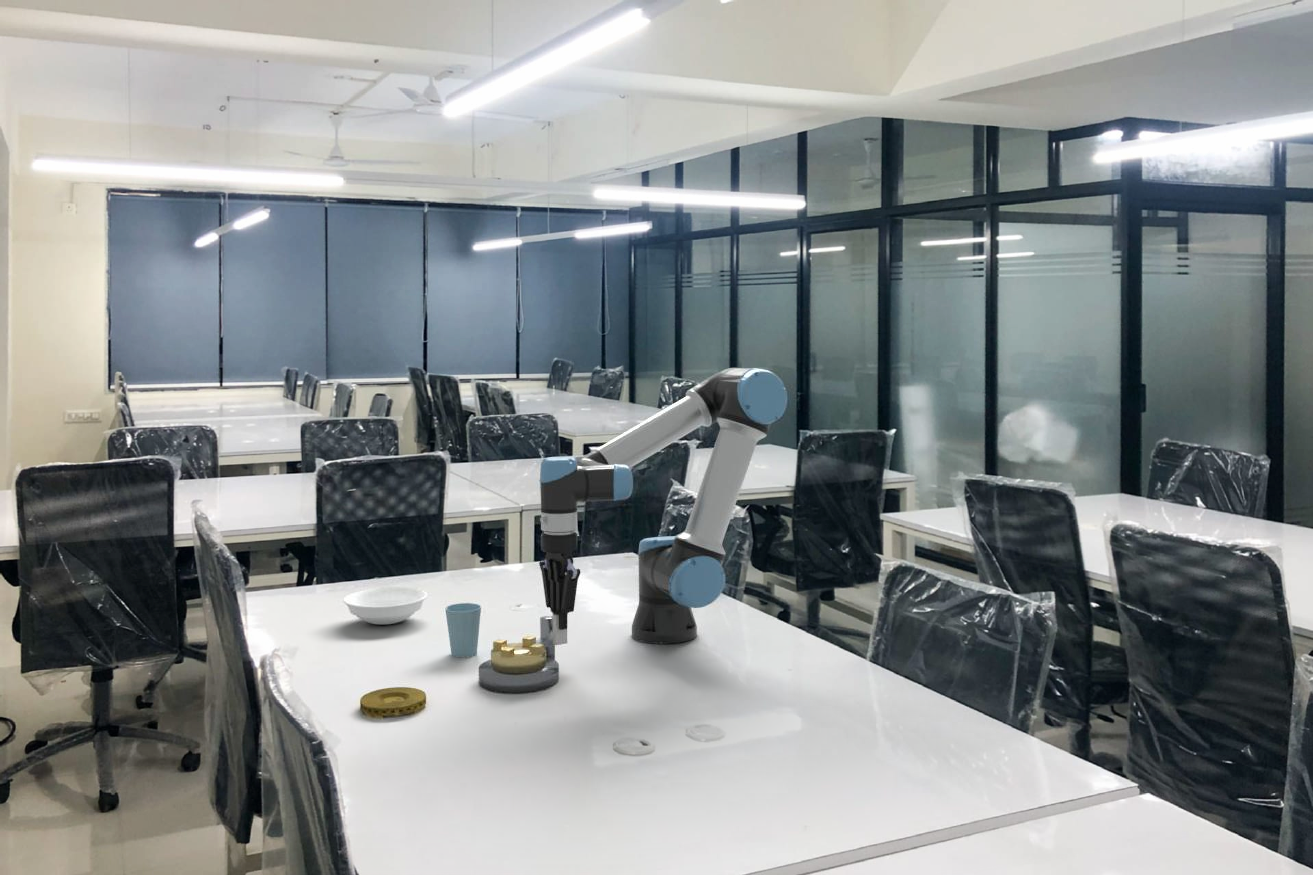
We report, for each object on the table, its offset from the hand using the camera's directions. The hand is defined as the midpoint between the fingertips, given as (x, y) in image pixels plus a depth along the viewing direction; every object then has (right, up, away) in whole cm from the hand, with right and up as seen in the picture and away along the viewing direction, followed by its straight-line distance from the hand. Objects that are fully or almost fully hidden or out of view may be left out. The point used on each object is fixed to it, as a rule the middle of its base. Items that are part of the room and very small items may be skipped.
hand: (560, 643), depth 225 cm
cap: (-8, -6, -8) cm, 13 cm away
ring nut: (-6, -5, -4) cm, 9 cm away
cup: (-22, -5, +11) cm, 25 cm away
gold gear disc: (-29, -8, -23) cm, 38 cm away
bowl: (-46, -2, +38) cm, 59 cm away
